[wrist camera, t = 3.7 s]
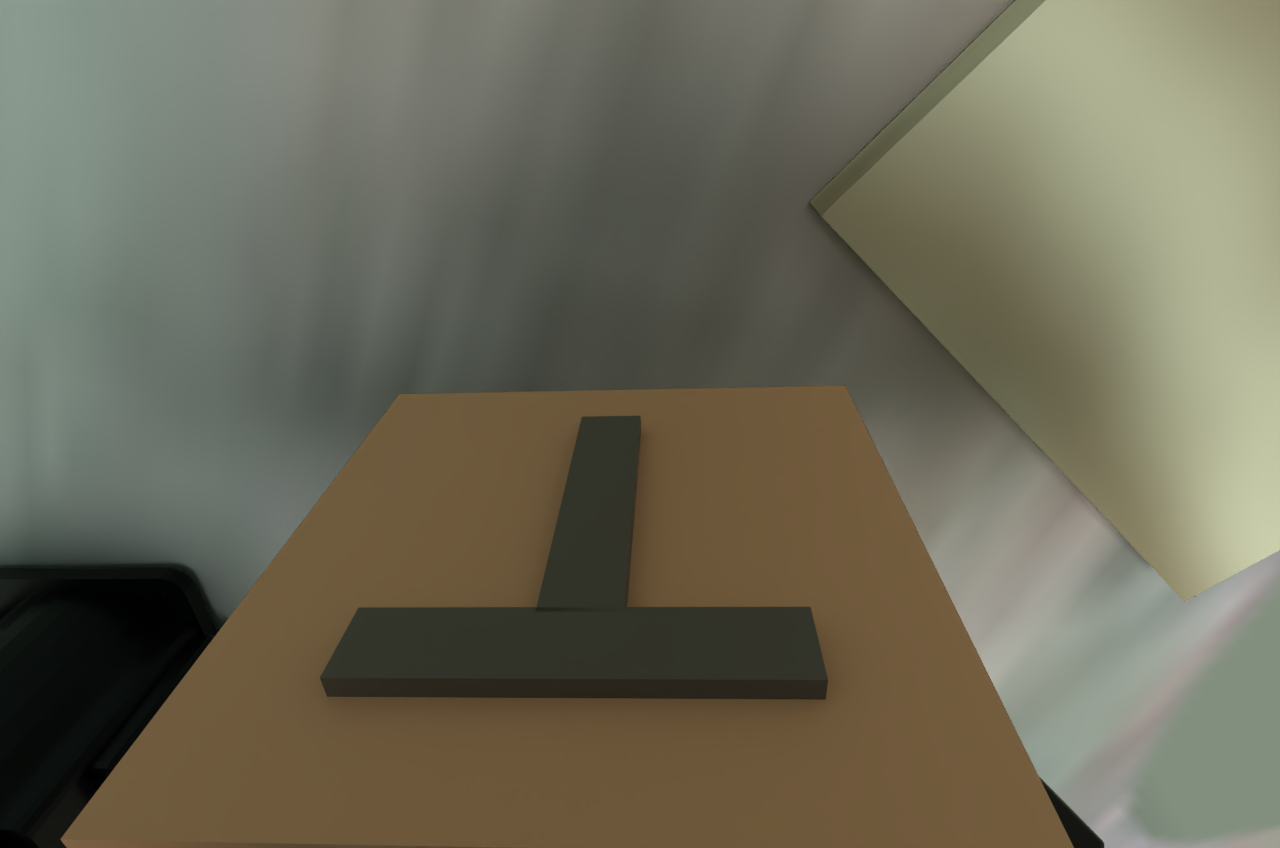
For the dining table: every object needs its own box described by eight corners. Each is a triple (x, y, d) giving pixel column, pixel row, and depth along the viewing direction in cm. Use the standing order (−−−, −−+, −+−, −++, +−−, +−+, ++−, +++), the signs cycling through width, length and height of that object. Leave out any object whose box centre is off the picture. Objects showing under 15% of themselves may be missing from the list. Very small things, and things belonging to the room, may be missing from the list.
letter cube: (470, 693, 12) (319, 1186, 7) (395, 380, 9) (32, 836, 4) (809, 694, 12) (917, 1215, 7) (847, 371, 9) (1098, 854, 4)
